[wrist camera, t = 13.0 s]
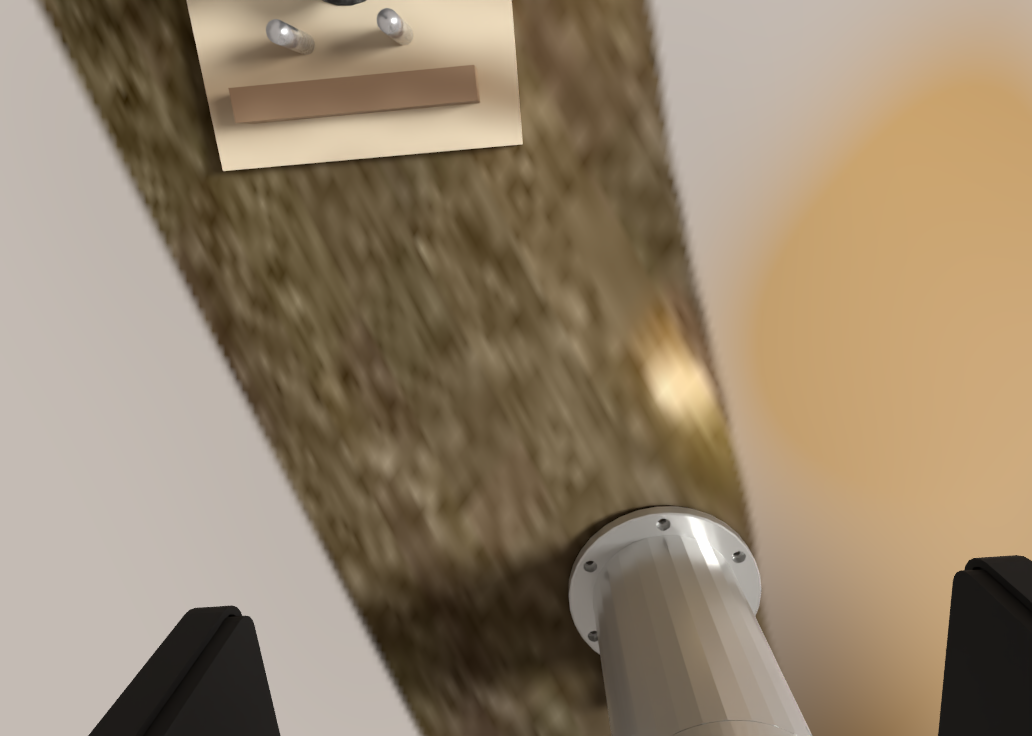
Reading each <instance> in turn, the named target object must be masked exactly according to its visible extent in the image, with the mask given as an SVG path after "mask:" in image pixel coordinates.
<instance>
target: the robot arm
mask: <svg viewBox="0 0 1032 736" xmlns="http://www.w3.org/2000/svg"><path fill="white" fill-rule="evenodd" d="M663 518H664V519H663ZM660 519H663V520H660ZM568 596H569V604H570V612H571V615H572V618H573V621H574V625H575V626H576V628H577V630H578V632H579V633H580V635H581V637H582V638H583V639H584V641H585V642H586V643H587V644H588V645H589V646H590V647H591V648H592V649H593V650H594V651H595V652H597V653H598V654H599V655H600V658H601V665H602V672H603V679H604V686H605V693H606V700H607V707H608V714H609V721H610V728H611V735H612V736H812V734H811V732H810V730H809V728H808V726H807V724H806V722H805V720H804V718H803V716H802V713H801V711H800V710H799V707H798V705H797V703H796V701H795V699H794V697H793V695H792V693H791V691H790V689H789V686H788V684H787V682H786V680H785V678H784V676H783V674H782V672H781V670H780V668H779V666H778V663H777V661H776V659H775V657H774V655H773V653H772V651H771V649H770V647H769V645H768V643H767V641H766V638H765V636H764V634H763V632H762V630H761V628H760V626H759V624H758V622H757V620H756V618H755V615H756V613H757V610H758V608H759V603H760V597H761V580H760V574H759V570H758V567H757V564H756V561H755V559H754V557H753V555H752V553H751V552H750V550H749V548H748V546H747V545H746V544H745V542H744V541H743V540H742V538H741V537H740V536H739V534H738V533H737V532H735V531H734V530H733V529H732V528H731V527H729V526H728V525H727V524H726V523H724V522H723V521H721V520H719V519H717V518H715V517H714V516H712V515H710V514H707V513H704V512H701V511H698V510H695V509H690V508H684V507H677V506H664V507H652V508H647V509H641V510H637V511H634V512H632V513H629V514H626V515H623V516H621V517H619V518H617V519H615V520H614V521H612V522H610V523H609V524H607V525H605V526H604V527H603V528H601V529H600V530H599V531H598V532H597V533H595V534H594V535H593V536H592V537H591V538H590V539H589V540H588V542H587V543H586V544H585V545H584V547H583V548H582V549H581V550H580V552H579V554H578V556H577V558H576V560H575V562H574V564H573V567H572V570H571V574H570V578H569V591H568ZM950 608H951V609H950V618H949V628H948V638H947V639H948V640H947V649H946V660H945V670H944V680H943V681H944V682H943V691H942V702H941V711H940V723H939V733H938V736H1032V561H1031V560H1029V559H1027V558H1026V557H1024V556H1017V555H1015V556H1000V557H985V558H973V559H971V560H969V561H968V563H967V564H966V566H965V570H964V571H959V572H957V573H956V574H955V576H954V579H953V587H952V597H951V607H950ZM89 736H280V733H279V728H278V724H277V720H276V715H275V711H274V707H273V702H272V698H271V694H270V690H269V685H268V681H267V677H266V673H265V668H264V664H263V660H262V656H261V652H260V647H259V643H258V639H257V634H256V630H255V626H254V623H253V620H252V619H251V618H250V617H249V616H242V614H241V612H240V610H239V609H238V608H237V607H235V606H220V607H204V608H194V609H191V610H189V611H188V612H187V613H186V614H185V615H184V616H183V618H182V619H181V620H180V621H179V623H178V624H177V625H176V626H175V628H174V629H173V630H172V631H171V633H170V634H169V635H168V636H167V638H166V639H165V640H164V641H163V643H162V644H161V645H160V646H159V648H158V649H157V650H156V651H155V653H154V654H153V655H152V656H151V658H150V659H149V660H148V662H147V663H146V664H145V665H144V666H143V668H142V669H141V670H140V672H139V673H138V674H137V675H136V677H135V678H134V679H133V680H132V682H131V683H130V684H129V685H128V687H127V688H126V689H125V690H124V692H123V693H122V694H121V695H120V697H119V698H118V699H117V700H116V702H115V703H114V704H113V705H112V707H111V708H110V709H109V710H108V712H107V713H106V714H105V715H104V717H103V718H102V719H101V721H100V722H99V723H98V724H97V725H96V727H95V728H94V729H93V731H92V732H91V733H90V734H89Z"/></svg>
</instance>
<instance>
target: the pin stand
mask: <svg viewBox="0 0 1032 736" xmlns="http://www.w3.org/2000/svg"><path fill="white" fill-rule="evenodd" d="M186 1H187V5H188V10H189V15H190V19H191V24H192V29H193V33H194V38H195V43H196V47H197V52H198V57H199V62H200V66H201V71H202V76H203V80H204V85H205V90H206V94H207V99H208V104H209V108H210V113H211V118H212V122H213V127H214V132H215V136H216V141H217V146H218V150H219V155H220V160H221V164H222V169H223V171H230V170H241V169H252V168H263V167H274V166H286V165H297V164H308V163H319V162H330V161H341V160H352V159H364V158H375V157H386V156H397V155H408V154H419V153H431V152H442V151H453V150H464V149H475V148H486V147H497V146H509V145H520V144H523V140H522V127H521V114H520V102H519V89H518V76H517V63H516V50H515V37H514V25H513V12H512V0H366V1H365V2H362V3H359V4H355V5H352V6H337V5H334V4H330V3H327V2H324V1H322V0H186Z"/></svg>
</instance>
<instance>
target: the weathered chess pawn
mask: <svg viewBox="0 0 1032 736" xmlns="http://www.w3.org/2000/svg"><path fill="white" fill-rule="evenodd" d="M322 1H324V2H327V3H330V4H334V5H337V6H352V5H355V4H359V3H362V2H365V1H366V0H322Z"/></svg>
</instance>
